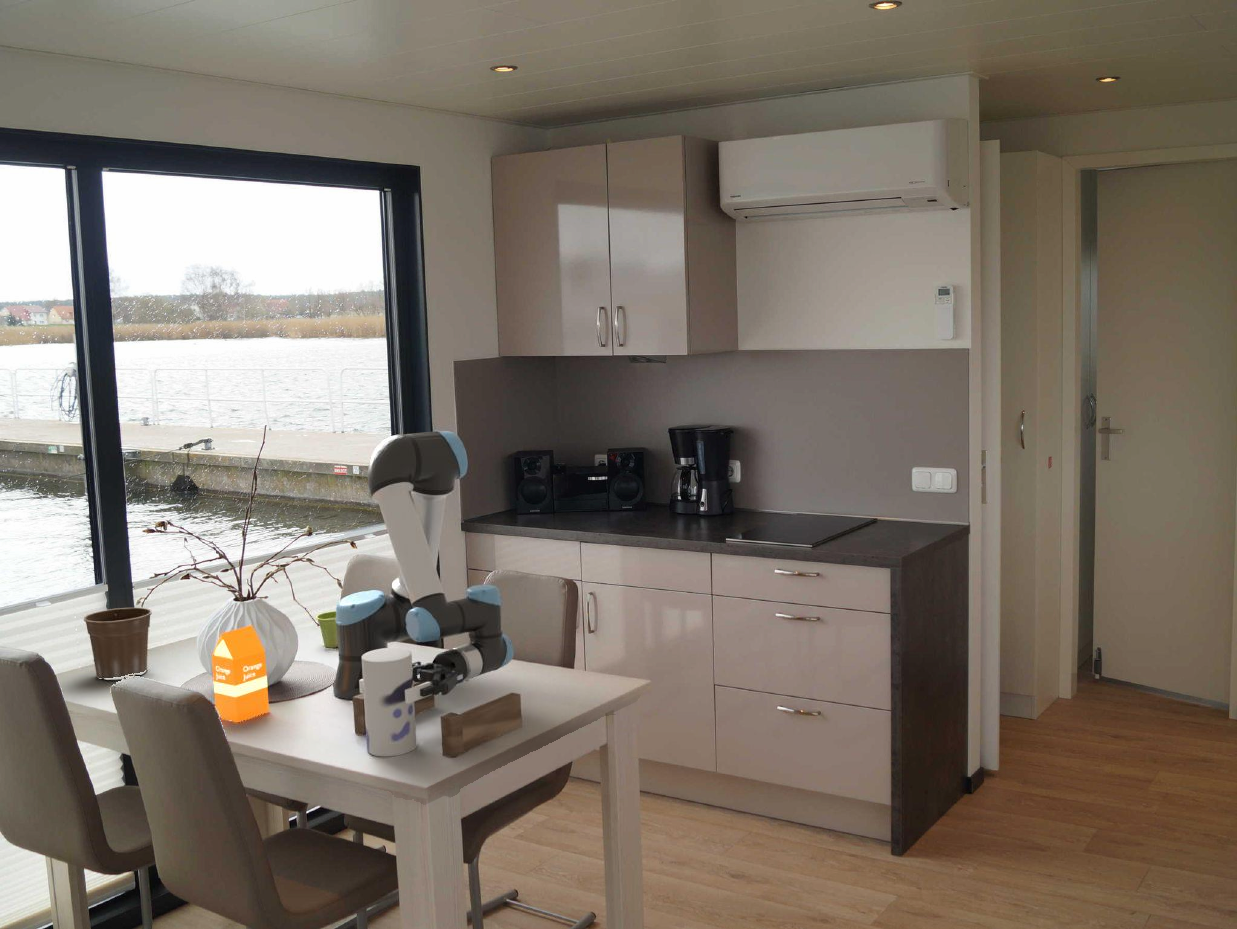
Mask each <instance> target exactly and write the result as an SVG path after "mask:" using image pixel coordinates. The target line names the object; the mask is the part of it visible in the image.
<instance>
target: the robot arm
mask: <svg viewBox="0 0 1237 929" xmlns="http://www.w3.org/2000/svg"><path fill="white" fill-rule="evenodd" d="M468 464H469V463H468V456H467V450H466V448H465V445H464V443H463V442H462V440H461V438H460V437H459V436H458V435H457V434H456V433H454V432H453V431H448V430H434V431H427V432H426V431H424V432H418V433H417V432H416V433H415V432H414V433H406V434H402V433H401V434H394V435H391V436H388V437H386V438H384V439H383V440H382V441H381V442H380V443H379V444H378V445H377V446H376V447H375V449H374V451H373V453H372V455H371V457H370V459H369V464H368V469H367V483H368V484H367V485H368V489H369V492H370V496H371V499H372V501H373V502H376V503H377V504H378V506H379V508H380V513H381V515H382V517H383V518H382V519H383V521H384V524H385V527H386V530H387V533H388V536H389V540H390V542H391V546H392V549H393V553H394V556H395V558H396V561H397V563H398V564H397V565H398V569H399V576H398V577H397V578H395V579H394V580H393V581H392V583H391V590H390V593H388V594H385V593H384V592H383V591H382V590H377V589H371V590H367V591H365V590H363V591H358V592H355V593H351V594H349V595H347V596H345V597H343V598H341V599H340V600H339V601H338V602H337V604H336V607H335V608H336V609H335V611H336V624H337V638H338V646H337V647H338V648H337V649H338V664H337V670H336V673H335V679H334V681H333V683H332V684H333V685H332V688H333V690H332V691H333V695H335V697H337V698H340V699H345V700H346V699H347V700H353V697H354V696H357V695H360V694H362V693H364V689H363V673H362V655H363V654H365V653H367V652H369V651H373V650H377V649H383V648H389V647H388V644H389V643H395V642H398V641H403V640H408V639H411V640H413V641H414V642H416V643H426V642H433V641H438V640H439V639H441V640H442V639H444V638H449V637H452V636H457V635H461V634H466V633H467V634H468V638H469V639H468V641H469V642H468V643H465V644H462V645H460V646H456V647H453V648H451V649H448V650H445V651H442V652H439V653H438V654H436V656H435V657H434V658H433V661H431V662H426V663H424V664H422V662H421V661H415V662H412V672H413V681H414V682H425V681H426V683H423V684H420V685H417V686H415V687H412V688H409V689H406V690H405V702H406V703H407V704H409V703H411V702H414V701H417V700H419V699H422V698H425V697H427V696H430V695H432V694H434V696H437V695H439V694H441V696H447V695H448V694H449V693H451V692H452V691H453V689H454V688H456V686H457V685H459V684H462V683H463V682H466V683H467V682H469V681H470V680H471V679H474V678H476V677H479V676H482V675H485V674H487V673H490V672H495V671H497V670H500V669H501V668H504V667H505V666H506V665H508V664H510V662H511V661H512V659H513V658H514V653H515V652H514V646H513V644H512V641H511V639H510V637H508V636H507V635H506V634H504V633H503V630H502V600H501V598H502V597H501V594H500V589H499V588H498V587H497V586H496V585H492V584H477V585H472V586H470V587H468V588H467V589H466V592H465V594H466V595H465V598H460V599H454V600H450V601H448V600H447V598H446V594H445V592H444V589H443V587H442V583H441V580H440V576H439V575H438V571H437V566H438V557H439V550H440V543H441V536H442V535H441V534H442V528H443V521H444V516H445V515H444V514H445V506H446V501H447V496H449V495H450V494H452V493H453V492H454V489H455V482H456V480H460V479H461V478H463V477H464V476H466V474H467V472H468ZM418 676H419V677H418ZM431 682H432V685H431Z"/></svg>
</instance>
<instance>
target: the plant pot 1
mask: <svg viewBox="0 0 1237 929" xmlns="http://www.w3.org/2000/svg"><path fill="white" fill-rule="evenodd" d="M152 614H153V611H152V609H149V608H147V607H146V608H145V607H121V608H120V607H118V608H111V609H106V610H101V611H96V612H92V613H90V614H87V615H85V616H84V617H83V621H84V622H85V624H86V625H85V626H86V630H87V634H88V636H89V638H90V639H89V640H90V645H91V649H92V657H93V663H94V668H95V669H94V670H95V674H96V677H97V676H98V677H99V678H113V677H121V676H125V675H128V674H132V673H133V674H134V673H140V672H144V671H145V670H147V671H148V650H149V649H148V648H149V647H148V644H149V643H148V642H149V628H150V627H151V615H152ZM129 676H133V675H129ZM124 678H125V677H124Z"/></svg>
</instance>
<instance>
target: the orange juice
mask: <svg viewBox="0 0 1237 929" xmlns="http://www.w3.org/2000/svg"><path fill="white" fill-rule="evenodd" d="M265 651H266V650H265V649H264V645H263V644H262V642H261V640H260V638H259V636H258V634H257V632H256V631H255V629H254V626H253V624H251V625H247V626H244V627H240V628H235V629H233V630H230V631H226V632H223V633H220V636H219V638H218V640H217V643H216V645H215V648H214V650H213V653H212V655H211V661H212V662H211V664H212V674H213V676H212V677H213V693H214V702H215V704H214V705H215V709H216V708H217V710H218V711H219V714H220V717H222V719H221V720H223V719H227V720H232V721H234V722H233V723H235V722H240V723H242V722H244V721H243V720H245V721H247V720H246V719H248V720H251V719H252V718H251V717H254V718H256V717H259V716H262V715H264V713H265V714H268V713H270V706H269V691H268V687H269V686H268V675H267V665H266V663H267V662H266V652H265ZM261 714H262V715H261ZM258 715H259V716H258ZM255 716H256V717H255ZM250 718H251V719H250ZM227 720H226V721H227ZM241 721H242V722H241Z"/></svg>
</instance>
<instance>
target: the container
mask: <svg viewBox="0 0 1237 929" xmlns="http://www.w3.org/2000/svg"><path fill="white" fill-rule="evenodd" d="M412 654H413V653H412V651H411V650H410V649H408V648H403V647H388V648H383V649H377V650H373V651H369V652H367V653H365V654H363V655H362V673H363V689H364V706H365V722H366V735H365V736H366V737H365V738H366V751H367V752H368V754H370V755H372V756H376V757H395V756H401V755H405V754H407V753H409V752H411V751H413V750H414V749H416V747H417V744H418V742H417V728H416V726H417V724H416V715H415V708H414V702H411V703H409V704H407V703H406V702H405V690H406V689H409V688H412V687H413V672H412V663H413V655H412Z"/></svg>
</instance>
